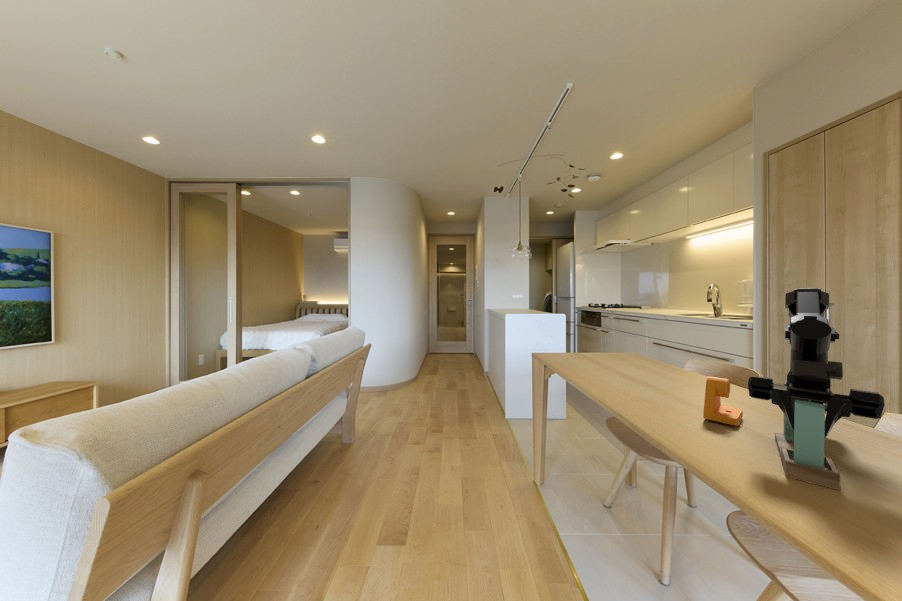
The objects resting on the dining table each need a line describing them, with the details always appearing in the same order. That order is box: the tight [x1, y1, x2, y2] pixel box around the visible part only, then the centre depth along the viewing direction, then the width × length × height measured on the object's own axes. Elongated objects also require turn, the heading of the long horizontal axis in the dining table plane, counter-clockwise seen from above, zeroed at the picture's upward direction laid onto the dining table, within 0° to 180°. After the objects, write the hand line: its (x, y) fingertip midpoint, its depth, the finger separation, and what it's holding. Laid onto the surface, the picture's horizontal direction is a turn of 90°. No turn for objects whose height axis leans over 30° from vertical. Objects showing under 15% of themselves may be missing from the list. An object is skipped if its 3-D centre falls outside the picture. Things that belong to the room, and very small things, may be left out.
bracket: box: [702, 375, 744, 427], centre depth 93 cm, size 11×7×12 cm, turn 131°
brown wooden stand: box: [774, 397, 841, 491], centre depth 70 cm, size 22×7×14 cm, turn 139°
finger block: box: [794, 400, 826, 469], centre depth 65 cm, size 4×4×12 cm
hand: (808, 431), depth 64 cm, fingers closed on finger block, 4 cm apart
